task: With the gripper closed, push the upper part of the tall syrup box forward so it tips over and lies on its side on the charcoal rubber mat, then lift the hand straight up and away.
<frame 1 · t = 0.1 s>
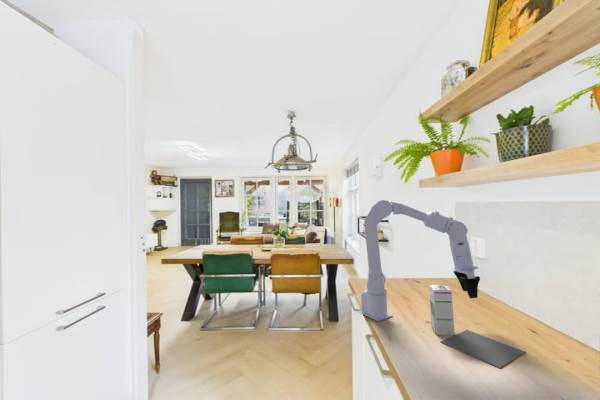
hand: (470, 294, 95), 10 cm above the table, tool pointing down, fingers open, 7 cm apart
syrup box: (442, 332, 90), on the table
rubber mat: (481, 347, 80), on the table
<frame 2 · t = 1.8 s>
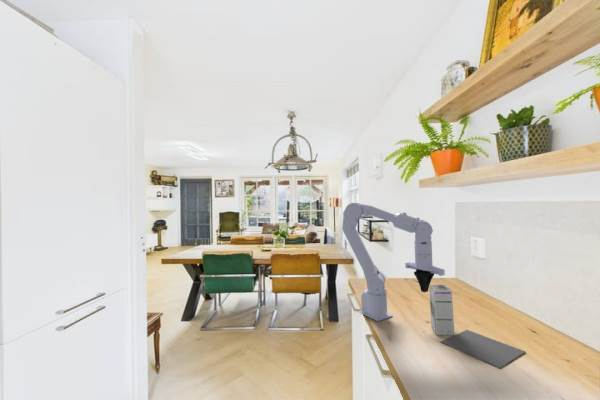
hand: (424, 291, 100), 10 cm above the table, tool pointing down, fingers closed
nothing on the table moved.
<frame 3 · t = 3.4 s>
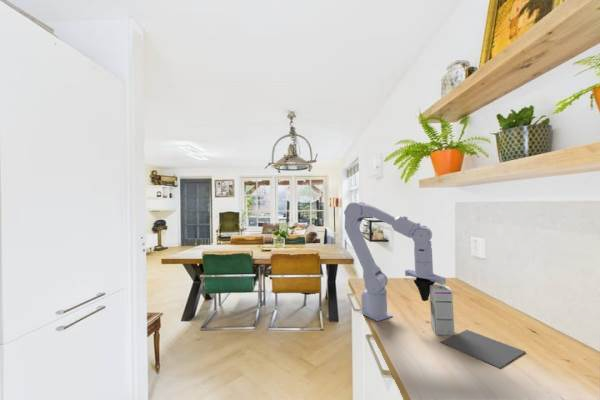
hand: (425, 300, 96), 8 cm above the table, tool pointing down, fingers closed
syrup box: (442, 331, 90), on the table, touching gripper
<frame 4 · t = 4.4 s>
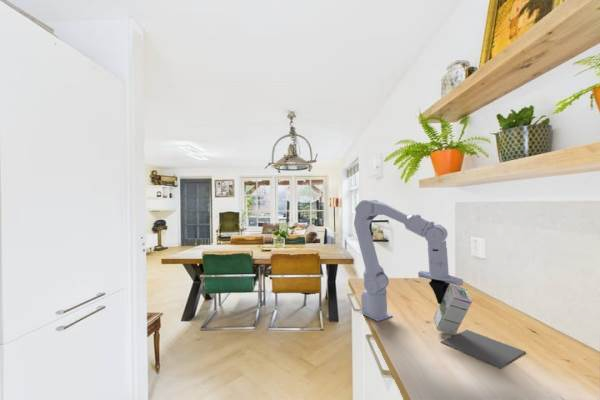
hand: (440, 303, 91), 9 cm above the table, tool pointing down, fingers closed, pressing on syrup box
syrup box: (443, 327, 90), point 1 cm above the table, touching gripper, rubber mat
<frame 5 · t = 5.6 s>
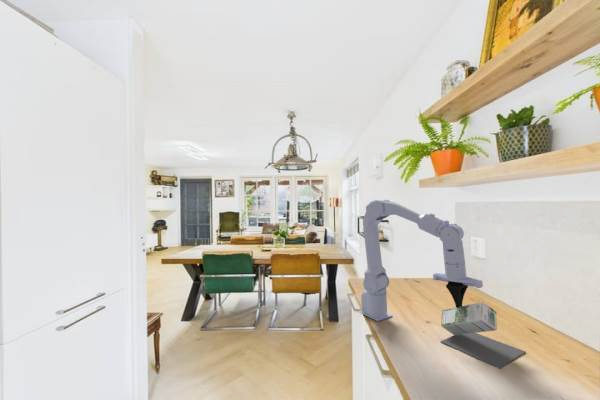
hand: (459, 306, 86), 10 cm above the table, tool pointing down, fingers closed, pressing on syrup box
syrup box: (447, 322, 89), point 3 cm above the table, touching gripper, rubber mat
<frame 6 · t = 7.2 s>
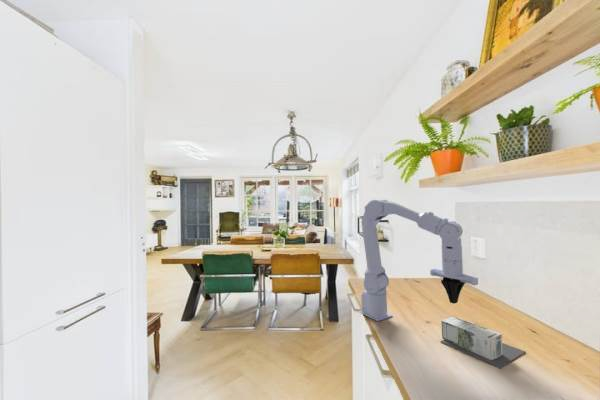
hand: (453, 302, 88), 10 cm above the table, tool pointing down, fingers closed
syrup box: (446, 327, 87), point 3 cm above the table, touching rubber mat
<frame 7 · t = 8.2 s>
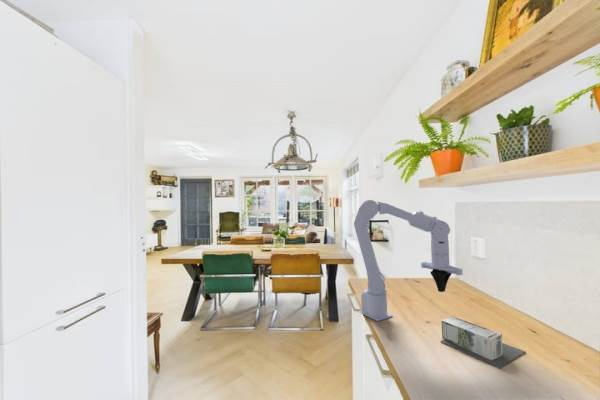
hand: (441, 291, 99), 10 cm above the table, tool pointing down, fingers closed
nothing on the table moved.
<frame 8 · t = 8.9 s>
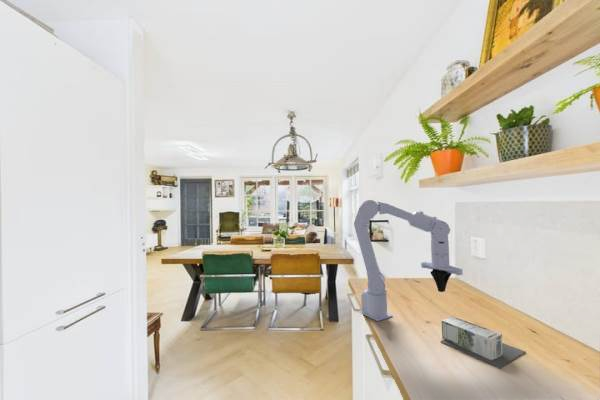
hand: (441, 291, 99), 10 cm above the table, tool pointing down, fingers closed
nothing on the table moved.
at the end: syrup box tilted 90°; syrup box touching rubber mat; syrup box inside the target area (2.6 cm from its centre), point 3.1 cm above the table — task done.
